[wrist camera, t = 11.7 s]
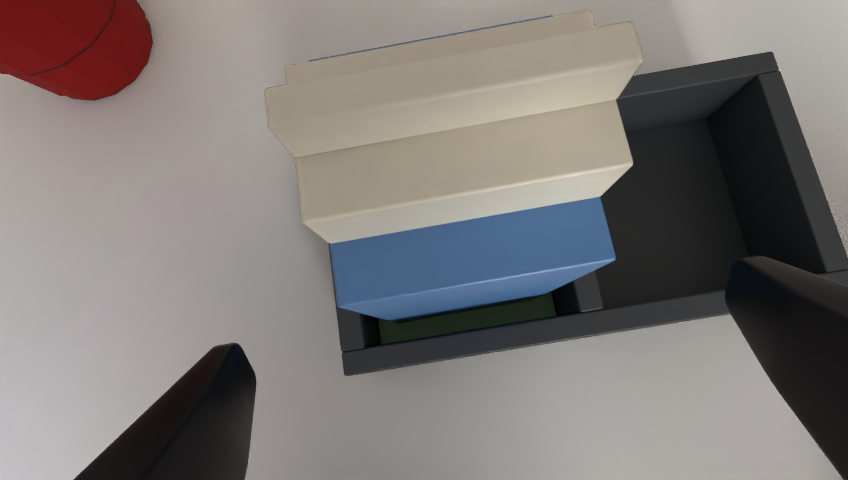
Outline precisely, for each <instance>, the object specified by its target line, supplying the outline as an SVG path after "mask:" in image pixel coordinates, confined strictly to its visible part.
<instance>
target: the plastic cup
mask: <svg viewBox="0 0 848 480" xmlns="http://www.w3.org/2000/svg"><path fill="white" fill-rule="evenodd" d="M152 43H153V42H152V36H151V30H150V24H149V22H148V21H147V19H146V18H145V13H144V11H143V10H142V8H141V7H140V6H139V4H138V3H137V1H136V0H0V73H1V74H10V75H12V76H15V77H17V78H19V79H22V80H24V81H27V82H29V83H31V84H34V85H36V86H38V87H41V88H43V89H46V90H48V91H50V92H53V93H55V94H57V95H61V96H68V97H70V98H73V99H84V100H97V99H100V98H103V97H107V96H110V95H114V94H116V93H118V92H119V91H120V90H122V89H123V88H125V87H126V86H127V85H129V84H130V83H132V82H133V81H134V80H135V79H136V78H137V76H138V75H139V73H140V72H141V71H142V69H143V68H144V66H145V65H146V64H147V62H148V58H149V54H150V51H151V47H152Z"/></svg>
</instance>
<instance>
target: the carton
mask: <svg viewBox="0 0 848 480" xmlns="http://www.w3.org/2000/svg"><path fill="white" fill-rule="evenodd" d="M642 62H643V54H642V51H641V47H640V44H639V41H638V37H637V34H636V31H635V27H634V24H633V23H632V22H623V23H617V24H612V25H607V26H601V27H596V26H595V23H594V19H593V16H592V12H591V11H590V10H585V11H579V12H574V13H569V14H563V15H558V16H546V17H540V18H535V19H530V20H524V21H519V22H514V23H508V24H503V25H497V26H492V27H487V28H481V29H476V30H470V31H465V32H460V33H454V34H449V35H444V36H438V37H433V38H427V39H422V40H417V41H411V42H406V43H401V44H395V45H390V46H384V47H379V48H374V49H368V50H363V51H358V52H352V53H347V54H341V55H336V56H331V57H325V58H320V59H315V60H310V61H308V62H305V63H300V64H294V65H289V66H286V67H285V76H286V85H282V86H277V87H271V88H268V89H266V90H265V102H266V112H267V122H268V127H269V129H270V131H271V132H272V133H273V134H274V135H275V136H276V137H277V138H278V140H279V141H280V142H281V143H282V144H283V145H284V146H285V148H286V149H287V150H288V151H289V152H290V153H291V154H292V155H293V156H294V157H295V166H296V175H297V184H298V193H299V202H300V211H301V220H302V222H303V224H305V225H306V226H307V227H309V228H310V229H311V230H312V231H314V232H315V233H316V234H318V235H319V236H320V237H322V238H323V239H324V240H326V241H327V242H328V243H330V250H331V259H332V267H333V275H334V283H335V291H336V299H337V305H338V307H340V308H343V309H347V310H351V311H355V312H358V313H362V314H366V315H370V316H373V317H377V318H381V319H385V320H388V321H392V322H396V323H401V322H407V321H413V320H419V319H425V318H431V317H436V316H442V315H448V314H454V313H460V312H466V311H472V310H478V309H484V308H489V307H495V306H501V305H507V304H513V303H519V302H525V301H531V300H534V299H536V298H538V297H540V296H542V295H544V294H546V293H548V292H550V291H552V290H555V289H557V288H559V287H561V286H563V285H565V284H567V283H569V282H571V281H573V280H575V279H577V278H579V277H582V276H584V275H586V274H588V273H590V272H592V271H594V270H596V269H598V268H600V267H602V266H604V265H606V264H609V263H611V262H613V261H614V260H615V259H616V256H615V252H614V249H613V245H612V241H611V237H610V233H609V229H608V225H607V221H606V217H605V214H604V210H603V206H602V202H601V198H600V196H601V195H602V194H603V193H604V192H606V191H607V190H608V189H609V188H610V187H611V186H612V185H613V184H614V183H615V182H616V181H617V180H618V179H619V178H620V177H621V176H622V175H623V174H624V173H625V172H626V171H627V170H628V169H629V168H630V167H631V166H632V165H633V160H632V156H631V152H630V149H629V145H628V142H627V138H626V134H625V131H624V127H623V124H622V120H621V116H620V113H619V109H618V106H617V102H616V99H617V98H618V97H619V96H620V94H621V93H622V91H623V90H624V88H625V87H626V85H627V84H628V82H629V81H630V80H631V78H632V77H633V75H634V74H635V72H636V71H637V69H638V68H639V66H640V65H641V63H642Z"/></svg>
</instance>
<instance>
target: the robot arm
mask: <svg viewBox="0 0 848 480" xmlns="http://www.w3.org/2000/svg"><path fill="white" fill-rule="evenodd" d="M725 303H726V306H727V308H728V310H729V312H730V313H731V315H732V317H733V318H734V320H735V322H736V323H737V325H738V327H739V329H740V330H741V332H742V334H743V335H744V337H745V339H746V340H747V342H748V344H749V345H750V347H751V349H752V351H753V352H754V354H755V356H756V357H757V359H758V361H759V362H760V364H761V366H762V367H763V369H764V371H765V372H766V374H767V375H768V377H769V378H770V380H771V382H772V383H773V384H774V386H775V387H776V389H777V390H778V392H779V393H780V394H781V396H782V397H783V398H784V400H785V401H786V402H787V404H788V405H789V407H790V408H791V409H792V411H793V412H794V413H795V415H796V416H797V417H798V419H799V420H800V421H801V423H802V424H803V425H804V427H805V428H806V429H807V431H808V432H809V434H810V435H811V436H812V438H813V439H814V440H815V442H816V443H817V444H818V446H819V447H820V448H821V450H822V451H823V452H824V454H825V455H826V456H827V458H828V459H829V460H830V462H831V463H832V465H833V466H834V467H835V469H836V470H837V471H838V473H839V474H840V475H841V477H842V478H843V479H844V480H848V286H847V285H844V284H842V283H839V282H836V281H833V280H830V279H827V278H825V277H822V276H819V275H816V274H813V273H810V272H807V271H805V270H802V269H799V268H796V267H793V266H790V265H787V264H785V263H782V262H779V261H776V260H773V259H770V258H768V257H765V256H751V257H745V258H740V259H737V260H735V261H734V263H733V264H732V266H731V270H730V274H729V279H728V283H727V287H726V291H725ZM255 393H256V376H255V373H254V370H253V368H252V366H251V365H250V363H249V361H248V359H247V357H246V355H245V353H244V351H243V349H242V347H241V346H240V345H239V344H237V343H230V344H224V345H218V346H215V347H213V348H212V349H211V350H210V351H209V352H208V353H207V354H206V355H204V356H203V357H202V358H201V359H200V360H199V361H198V362H197V363H196V364H195V365H194V366H193V367H192V368H191V369H190V370H189V371H188V372H187V373H185V374H184V375H183V376H182V377H181V378H180V379H179V380H178V381H177V382H176V383H175V384H174V385H173V386H172V387H171V388H170V389H169V390H168V391H166V392H165V393H164V394H163V395H162V396H161V397H160V398H159V399H158V400H157V401H156V402H155V403H154V404H153V405H152V406H151V407H150V408H149V409H148V410H146V411H145V412H144V413H143V414H142V415H141V416H140V417H139V418H138V419H137V420H136V421H135V422H134V423H133V424H132V425H131V426H130V427H129V428H127V429H126V430H125V431H124V432H123V433H122V434H121V435H120V436H119V437H118V438H117V439H116V440H115V441H114V442H113V443H112V444H111V445H110V446H108V447H107V448H106V449H105V450H104V451H103V452H102V453H101V454H100V455H99V456H98V457H97V458H96V459H95V460H94V461H93V462H92V463H91V464H89V465H88V466H87V467H86V468H85V469H84V470H83V471H82V472H81V473H80V474H79V475H78V476H77V477H76V478H75V479H74V480H245V475H246V470H247V465H248V457H249V449H250V440H251V431H252V421H253V412H254V402H255Z"/></svg>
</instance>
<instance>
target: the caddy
mask: <svg viewBox="0 0 848 480" xmlns="http://www.w3.org/2000/svg"><path fill="white" fill-rule="evenodd" d="M778 69H779V68H778V65H777V63H776V60H775V57H774V54H773V52H766V53H760V54H755V55H749V56H743V57H738V58H732V59H726V60H721V61H715V62H710V63H704V64H698V65H693V66H687V67H682V68H676V69H670V70H665V71H659V72H653V73H648V74H642V75H637V76H633V77H632V78H631V80H630V81H629V82H628V84H627V85H626V87H625V88H624V90H623V91H622V93H621V94H620V96H619V97H618V98H617V99H616V102H617V106H618V109H619V113H620V116H621V120H622V124H623V127H624V131H625V134H626V138H627V142H628V145H629V149H630V152H631V156H632V160H633V165H632V166H631V167H630V168H629V169H628V170H627V171H626V172H625V173H624V174H623V175H622V176H621V177H620V178H619V179H618V180H617V181H616V182H615V183H614V184H613V185H612V186H611V187H610V188H609V189H608V190H607V191H606V192H604V193H603V194H602V195H601V196H600V198H601V202H602V206H603V210H604V214H605V217H606V221H607V225H608V229H609V233H610V237H611V241H612V245H613V249H614V252H615V256H616V259H615V260H614V261H613V262H611V263H609V264H606V265H604V266H602V267H600V268H598V269H596V270H594V271H592V272H590V273H588V274H586V275H584V276H582V277H579V278H577V279H575V280H573V281H571V282H569V283H567V284H565V285H563V286H561V287H559V288H557V289H555V290H552V291H550V292H548V293H546V294H544V295H542V296H540V297H538V298H536V299H534V300H531V301H525V302H519V303H513V304H507V305H501V306H495V307H489V308H484V309H478V310H472V311H466V312H460V313H454V314H448V315H442V316H436V317H431V318H425V319H419V320H413V321H407V322H401V323H396V322H392V321H388V320H385V319H381V318H377V317H373V316H370V315H366V314H362V313H358V312H355V311H351V310H347V309H343V308H340V307H338V305H337V299H336V291H335V283H334V275H333V267H332V259H331V250H330V243H329V252H330V260H331V268H332V277H333V285H334V294H335V302H336V311H337V319H338V328H339V336H340V344H341V351H342V352H343V353H342V360H343V368H344V375H345V376H352V375H358V374H364V373H370V372H376V371H382V370H389V369H395V368H401V367H407V366H413V365H419V364H425V363H432V362H438V361H444V360H450V359H456V358H462V357H468V356H475V355H481V354H487V353H493V352H499V351H505V350H511V349H517V348H524V347H530V346H536V345H542V344H548V343H554V342H560V341H567V340H573V339H579V338H585V337H591V336H597V335H603V334H610V333H616V332H622V331H628V330H634V329H640V328H646V327H653V326H659V325H665V324H671V323H677V322H683V321H689V320H695V319H702V318H708V317H714V316H720V315H726V314H731V313H730V312H729V310H728V308H727V306H726V303H725V291H726V287H727V283H728V279H729V274H730V270H731V266H732V264H733V263H734V261H735V260H737V259H740V258H745V257H751V256H765V257H768V258H770V259H773V260H776V261H779V262H782V263H785V264H787V265H790V266H793V267H796V268H799V269H802V270H805V271H807V272H810V273H813V274H816V275H819V276H822V277H825V278H827V279H830V280H833V281H836V282H839V283H842V284H844V285H847V286H848V257H847V255H846V252H845V249H844V246H843V243H842V241H841V238H840V235H839V232H838V230H837V227H836V224H835V221H834V219H833V216H832V213H831V210H830V208H829V205H828V202H827V199H826V197H825V194H824V191H823V188H822V186H821V183H820V180H819V177H818V174H817V172H816V169H815V166H814V163H813V161H812V158H811V155H810V152H809V150H808V147H807V144H806V141H805V139H804V136H803V133H802V130H801V128H800V125H799V122H798V119H797V117H796V114H795V111H794V108H793V106H792V103H791V100H790V97H789V94H788V92H787V89H786V86H785V83H784V81H783V78H782V75H781V72H780V71H778Z"/></svg>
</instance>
